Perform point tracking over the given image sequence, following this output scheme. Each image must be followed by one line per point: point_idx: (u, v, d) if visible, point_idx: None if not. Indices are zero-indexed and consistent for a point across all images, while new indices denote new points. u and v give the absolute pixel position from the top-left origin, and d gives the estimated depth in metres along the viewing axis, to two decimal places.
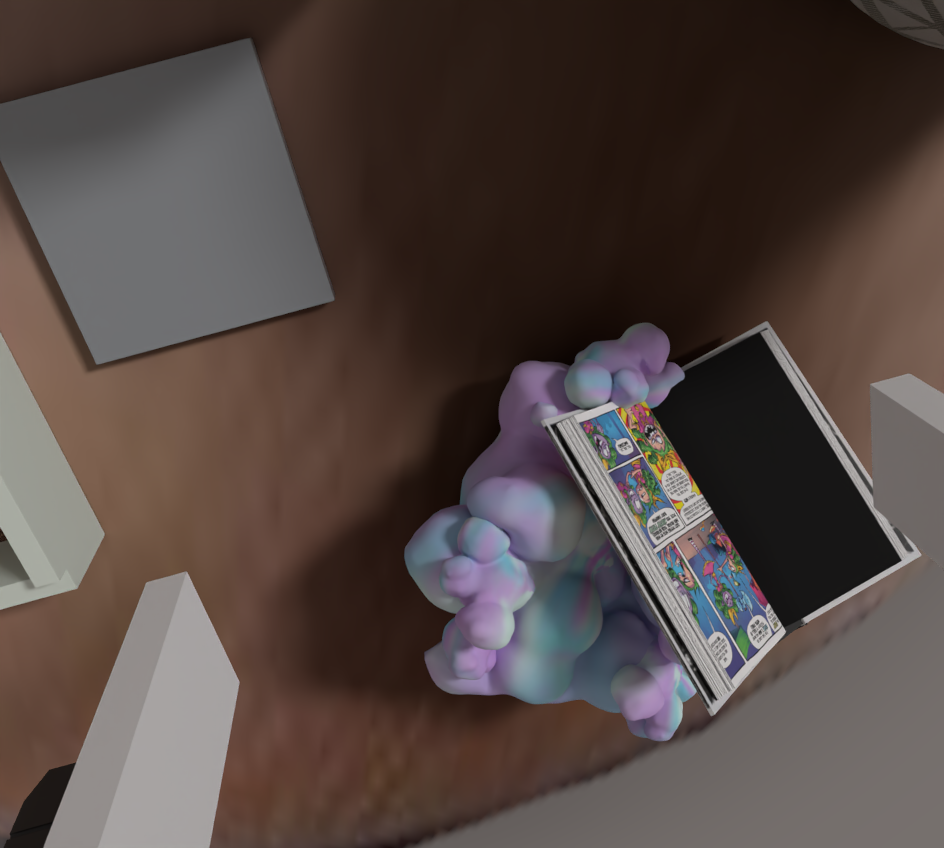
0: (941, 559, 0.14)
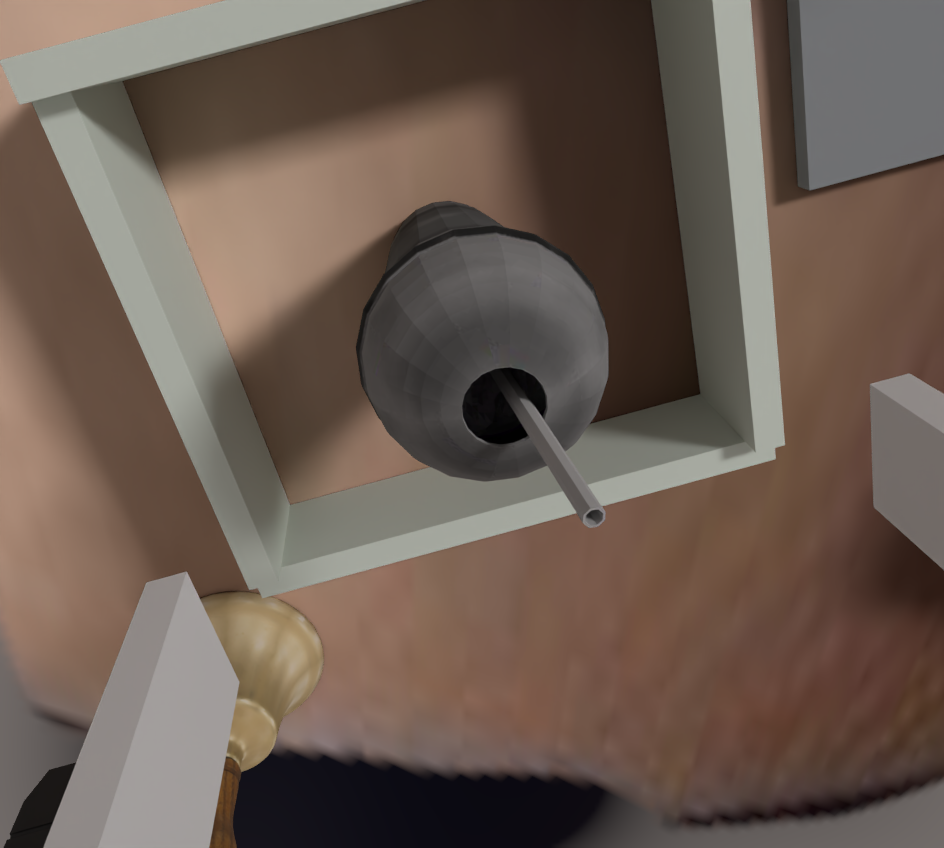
0: (942, 558, 0.14)
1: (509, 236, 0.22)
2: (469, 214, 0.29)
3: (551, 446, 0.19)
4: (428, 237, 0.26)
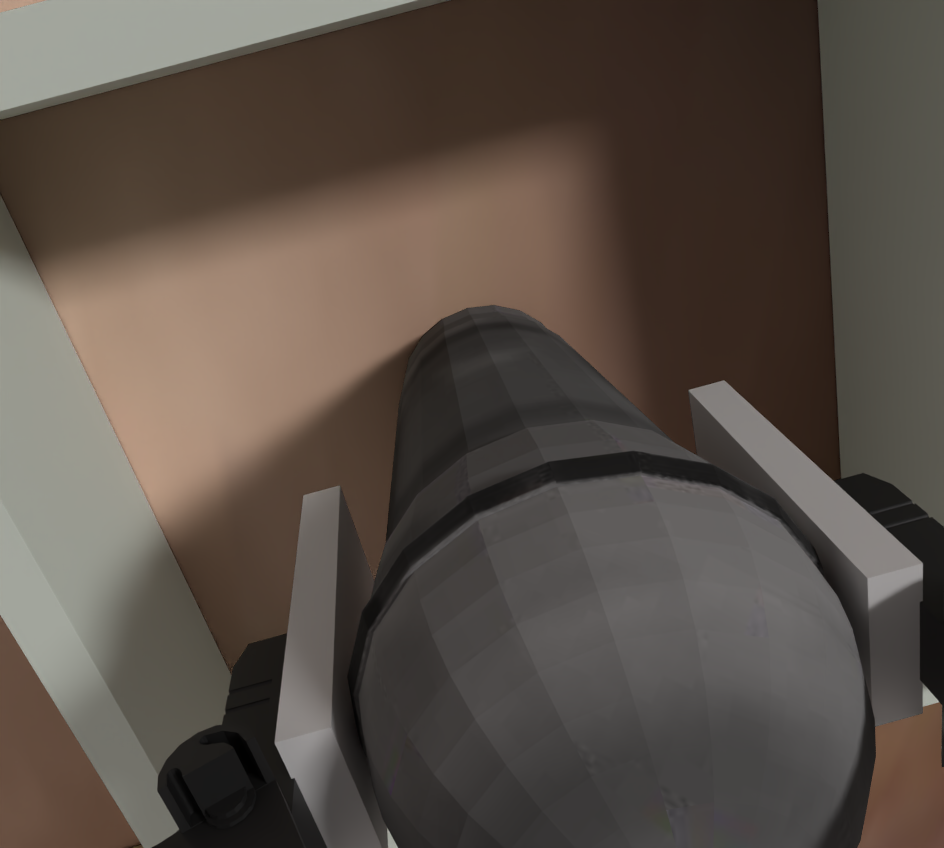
0: None
1: (667, 477, 0.11)
2: (540, 355, 0.17)
3: None
4: (481, 427, 0.14)
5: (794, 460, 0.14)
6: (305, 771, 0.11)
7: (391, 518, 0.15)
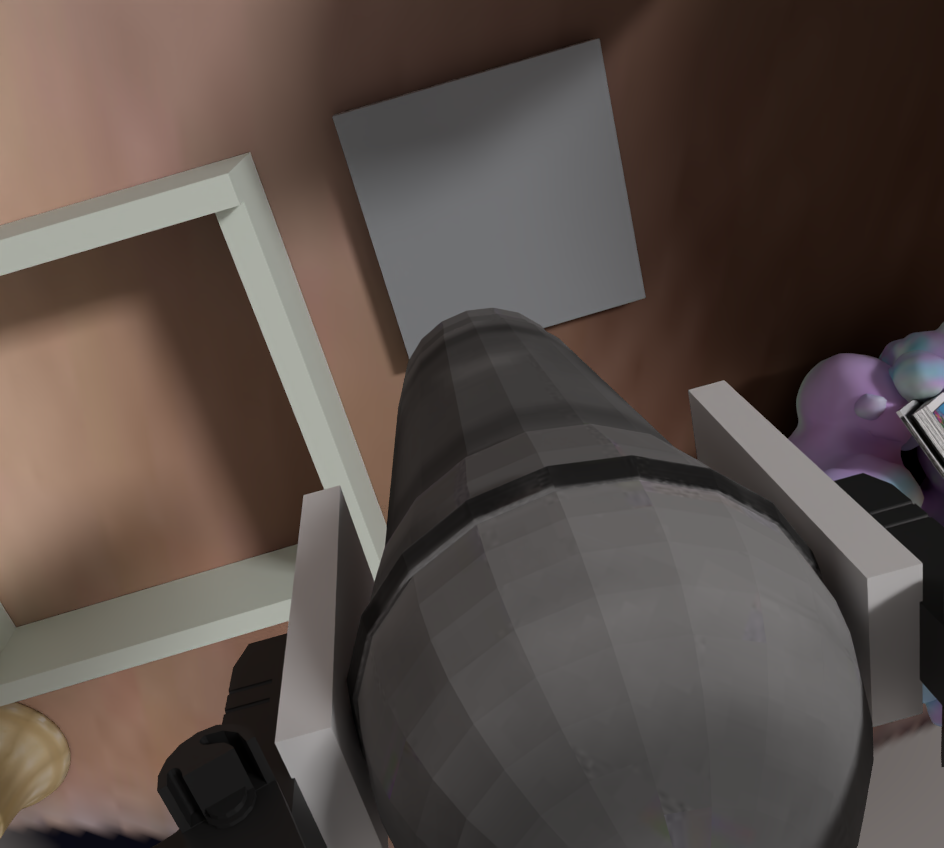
0: None
1: (665, 482, 0.11)
2: (539, 358, 0.17)
3: None
4: (480, 431, 0.14)
5: (793, 460, 0.14)
6: (305, 771, 0.11)
7: (390, 521, 0.15)
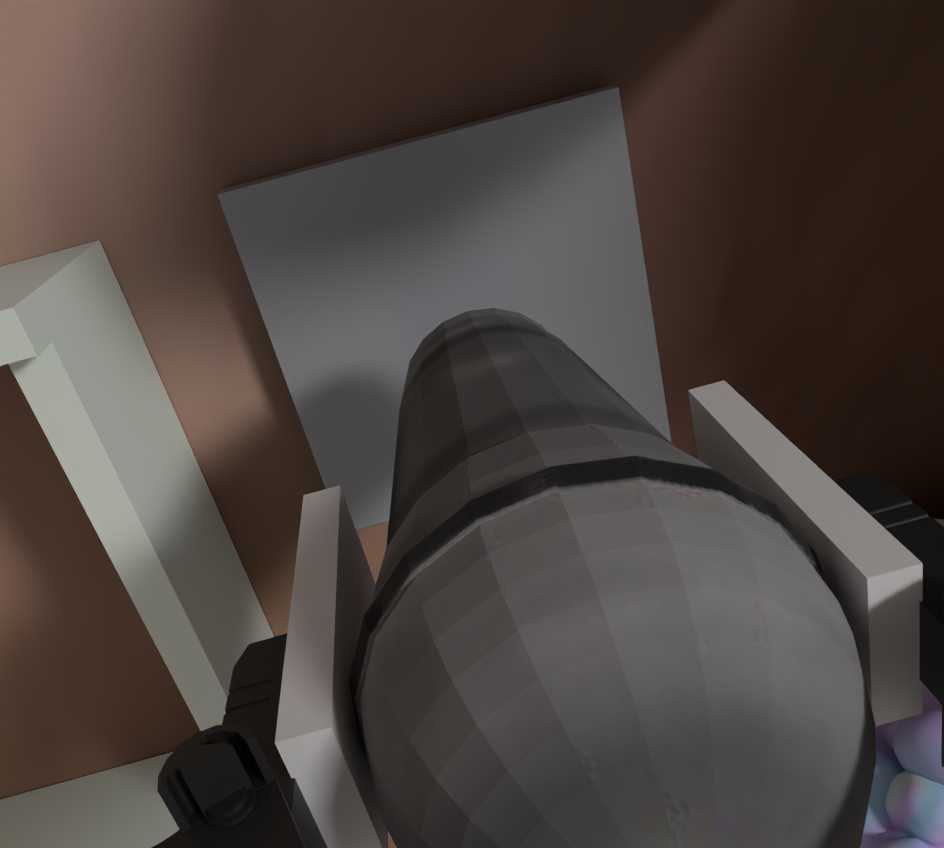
0: None
1: (667, 482, 0.11)
2: (541, 358, 0.17)
3: None
4: (482, 431, 0.14)
5: (793, 460, 0.14)
6: (305, 771, 0.11)
7: (392, 522, 0.15)
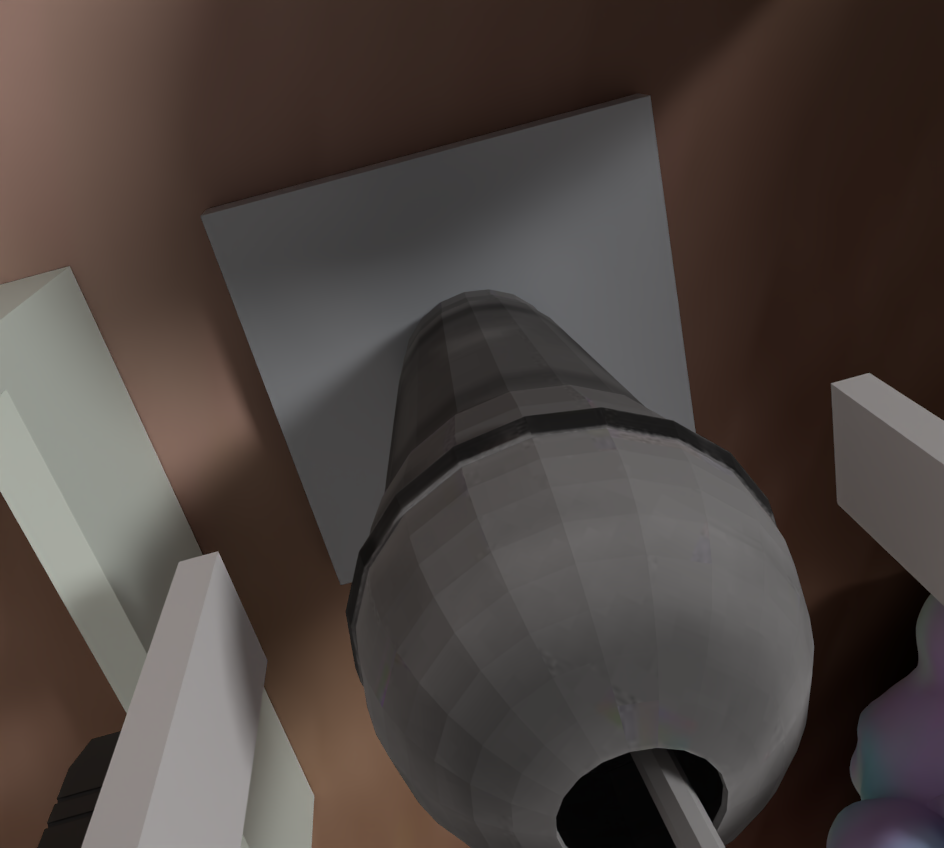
0: (898, 554, 0.15)
1: (630, 430, 0.12)
2: (528, 332, 0.18)
3: None
4: (470, 393, 0.15)
5: None
6: None
7: (388, 478, 0.16)
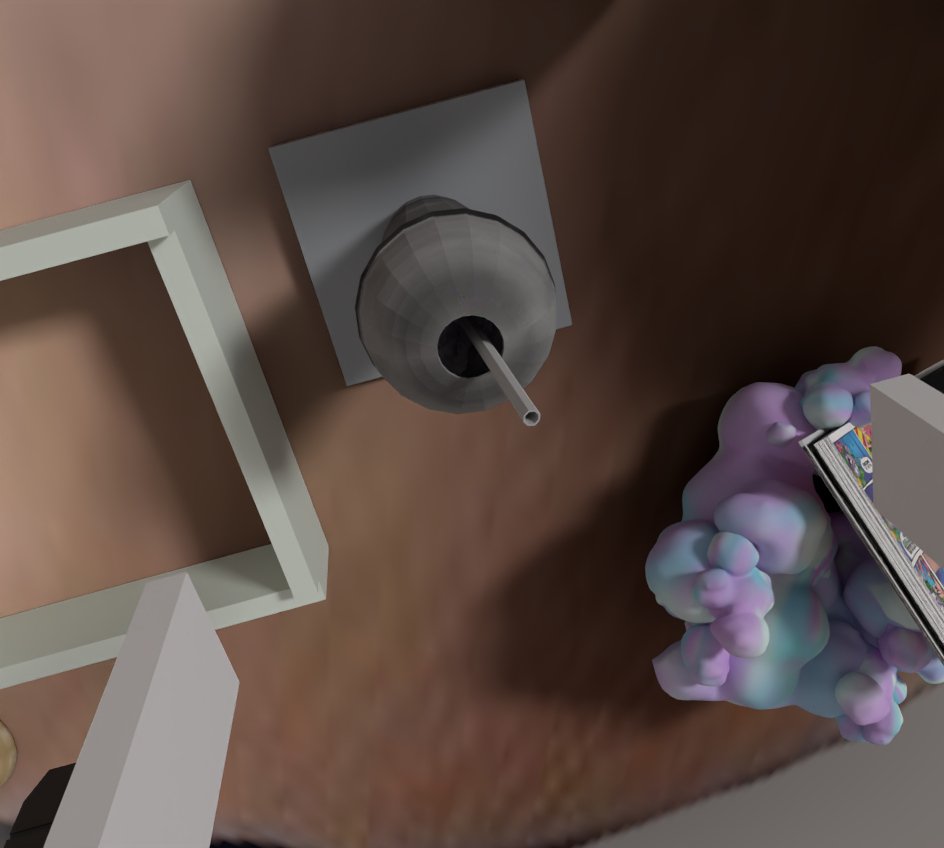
0: (941, 559, 0.14)
1: (476, 216, 0.28)
2: (448, 203, 0.34)
3: (503, 372, 0.25)
4: (413, 220, 0.31)
5: None
6: None
7: None
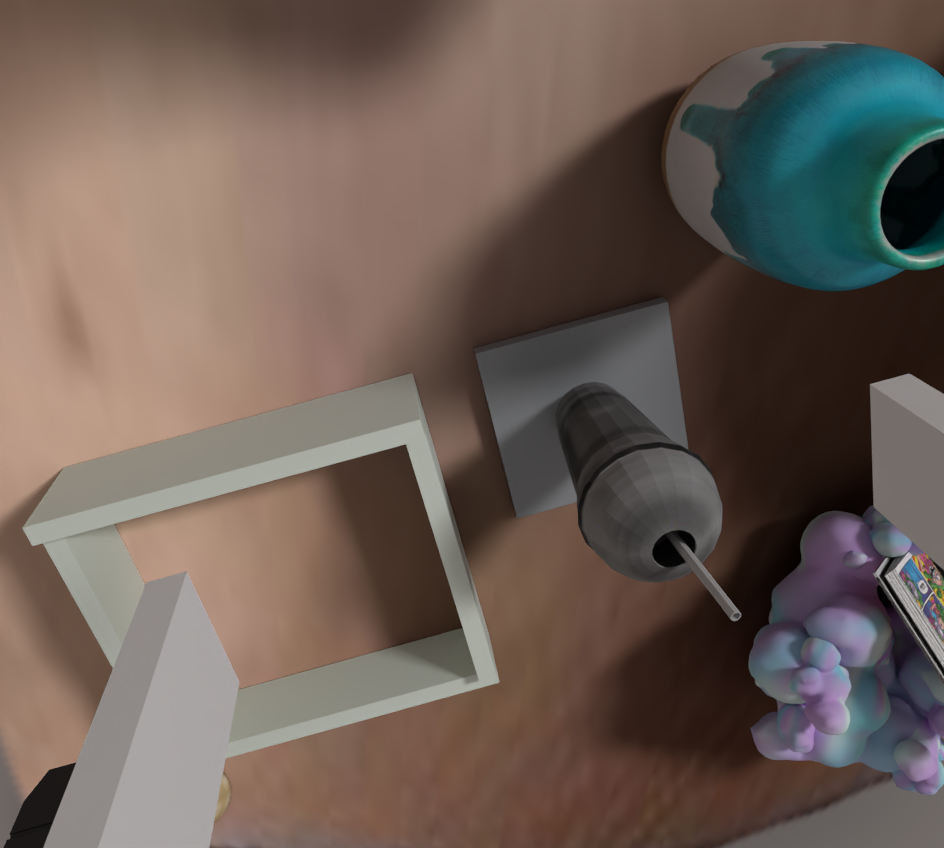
0: (942, 559, 0.14)
1: (668, 448, 0.41)
2: (622, 408, 0.47)
3: (705, 574, 0.37)
4: (609, 435, 0.44)
5: None
6: None
7: (576, 465, 0.45)
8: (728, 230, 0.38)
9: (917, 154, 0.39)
